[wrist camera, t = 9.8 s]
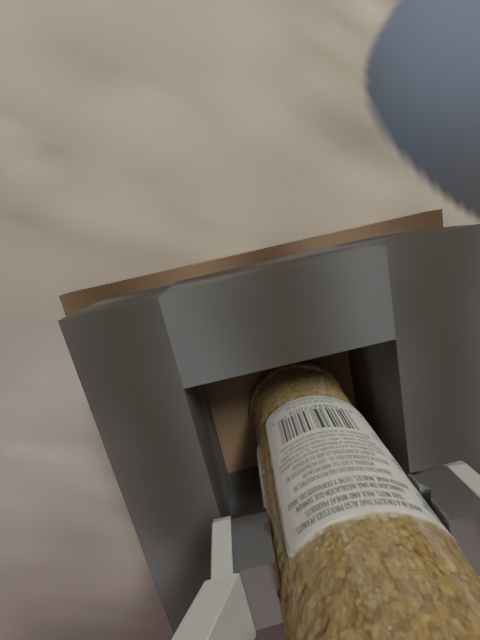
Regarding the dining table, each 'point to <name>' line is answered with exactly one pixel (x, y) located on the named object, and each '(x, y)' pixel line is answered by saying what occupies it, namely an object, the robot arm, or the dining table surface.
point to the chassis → (266, 354)
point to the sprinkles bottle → (352, 523)
